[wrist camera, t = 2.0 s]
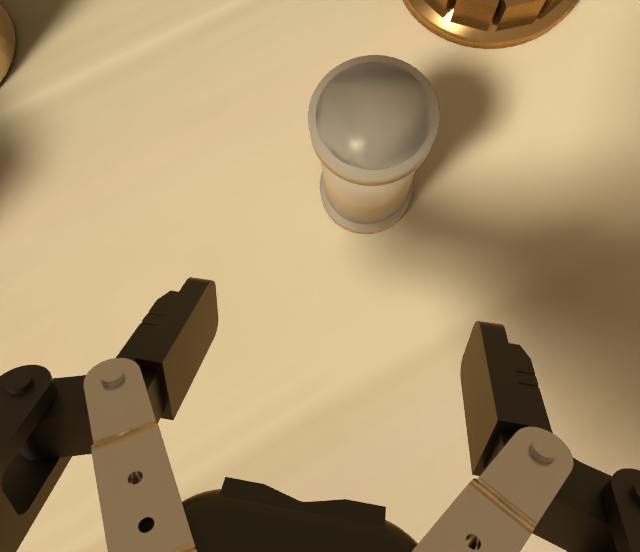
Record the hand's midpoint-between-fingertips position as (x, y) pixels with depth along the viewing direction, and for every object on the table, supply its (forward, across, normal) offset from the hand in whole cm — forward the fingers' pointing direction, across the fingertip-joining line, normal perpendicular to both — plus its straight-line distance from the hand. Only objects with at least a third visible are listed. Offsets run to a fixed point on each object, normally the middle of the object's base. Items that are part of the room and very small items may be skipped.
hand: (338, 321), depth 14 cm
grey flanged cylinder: (+15, 0, +3) cm, 15 cm away
